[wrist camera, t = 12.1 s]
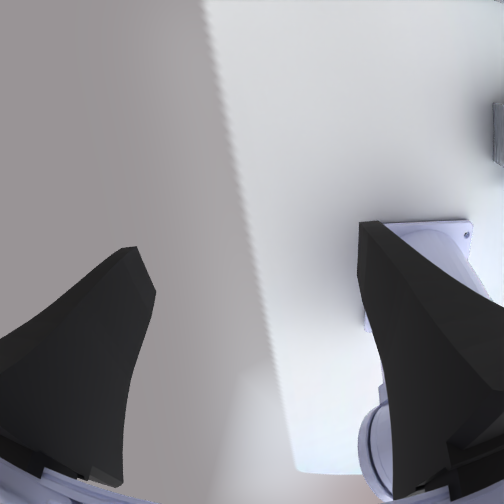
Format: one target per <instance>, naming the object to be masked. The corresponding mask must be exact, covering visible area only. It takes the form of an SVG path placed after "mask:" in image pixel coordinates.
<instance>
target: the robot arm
mask: <svg viewBox="0 0 504 504" xmlns="http://www.w3.org/2000/svg"><path fill="white" fill-rule="evenodd" d="M466 232H468V234H467V235H466V236H464V234H465V233H466ZM472 235H473V224H472V223H471V222H470V221H469V220H455V221H432V222H410V223H390V224H382V223H381V222H379V221H369V222H359V244H358V264H357V278H358V283H359V288H360V292H361V297H362V302H363V305H364V308H365V318H364V330H365V331H366V332H372V333H373V336H374V339H375V342H376V345H377V349H378V352H379V355H380V360H381V368H382V377H383V384H381V385H380V386H379V387H378V389H379V401H380V405H379V406H377V407H375V408H374V409H372V410H371V411H370V412H369V413H368V414H367V415H366V416H365V418H364V420H363V421H362V424H361V427H360V430H359V435H358V457H359V463H360V467H361V471H362V473H363V476H364V478H365V480H366V482H367V484H368V485H369V487H370V488H371V490H372V491H373V492H374V494H376V496H377V497H378V498H380V499H381V500H382V501H383V502H385V503H380V504H504V308H503V307H502V306H500V305H498V304H496V303H494V302H493V301H492V299H491V297H490V296H489V294H488V292H487V290H486V289H485V287H484V285H483V284H482V282H481V280H480V279H479V277H478V276H477V274H476V272H475V271H474V269H473V268H472V266H471V265H470V263H469V262H468V257H469V252H470V247H471V241H472ZM155 296H156V290H155V288H154V286H153V283H152V281H151V279H150V277H149V275H148V272H147V270H146V268H145V265H144V263H143V261H142V258H141V256H140V254H139V251H138V249H137V246H135V247H126V248H121V249H120V250H118V251H116V252H115V253H113V254H112V255H111V256H109V257H108V258H107V259H105V260H104V261H103V262H102V263H101V264H99V265H98V266H97V267H96V268H94V269H93V270H92V271H91V272H90V273H88V274H87V275H86V276H85V277H84V278H83V279H81V280H80V281H79V282H78V283H77V284H75V285H74V286H73V287H72V288H71V289H69V290H68V291H67V292H66V293H65V294H63V295H62V296H61V297H60V298H59V299H57V300H56V301H55V302H54V303H53V304H51V305H50V306H49V307H47V308H46V309H45V310H43V311H42V312H41V313H39V314H38V315H37V316H35V317H34V318H32V319H31V320H29V321H28V322H27V323H25V324H23V325H22V326H20V327H19V328H17V329H15V330H14V331H12V332H11V333H9V334H8V335H6V336H4V337H2V338H1V339H0V504H82V503H83V504H160V503H155V502H151V501H146V500H142V499H137V498H133V497H129V496H125V495H122V494H118V493H115V492H111V491H108V490H104V489H101V488H98V487H95V486H92V485H89V484H86V483H83V482H81V481H78V480H77V478H80V479H83V480H86V481H88V480H92V481H95V482H98V483H101V484H104V485H108V486H111V487H114V488H116V487H119V486H120V485H122V484H123V459H122V458H123V456H122V455H123V454H122V451H123V430H124V420H125V411H126V404H127V398H128V392H129V386H130V381H131V378H132V374H133V370H134V367H135V364H136V361H137V358H138V355H139V351H140V349H141V346H142V343H143V340H144V337H145V334H146V331H147V328H148V325H149V322H150V319H151V316H152V311H153V306H154V301H155ZM80 502H81V503H80Z"/></svg>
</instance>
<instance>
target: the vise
mask: <svg viewBox="0 0 504 504" xmlns="http://www.w3.org/2000/svg"><path fill="white" fill-rule="evenodd" d="M495 1H498V2H502V3H504V0H495ZM493 115H494V149H493V161H494V162H496V163H497V164H499V165H501V166H502V167H504V104H498V103H493Z"/></svg>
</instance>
